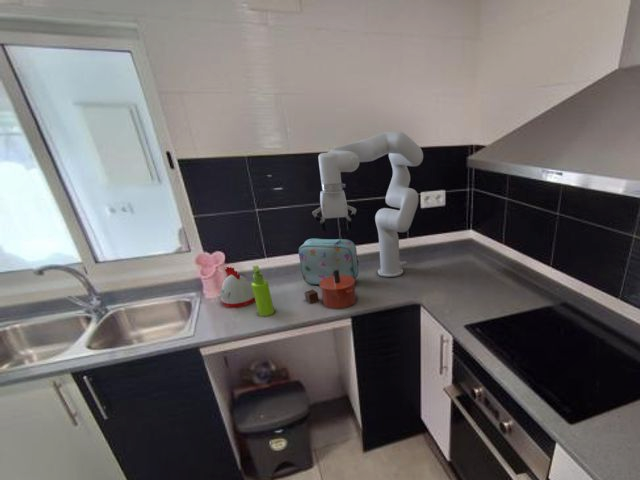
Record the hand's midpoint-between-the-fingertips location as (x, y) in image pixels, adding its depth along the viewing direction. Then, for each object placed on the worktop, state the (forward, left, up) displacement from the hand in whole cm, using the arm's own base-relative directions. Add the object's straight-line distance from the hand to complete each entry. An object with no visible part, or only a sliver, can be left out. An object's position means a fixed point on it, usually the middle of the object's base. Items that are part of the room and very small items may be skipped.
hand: (336, 231), depth 154 cm
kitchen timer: (+35, -28, -29) cm, 53 cm away
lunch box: (-4, -15, -29) cm, 33 cm away
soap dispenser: (+32, -8, -29) cm, 44 cm away
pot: (+5, +4, -29) cm, 29 cm away
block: (+13, -5, -29) cm, 32 cm away
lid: (+5, +4, -20) cm, 21 cm away
